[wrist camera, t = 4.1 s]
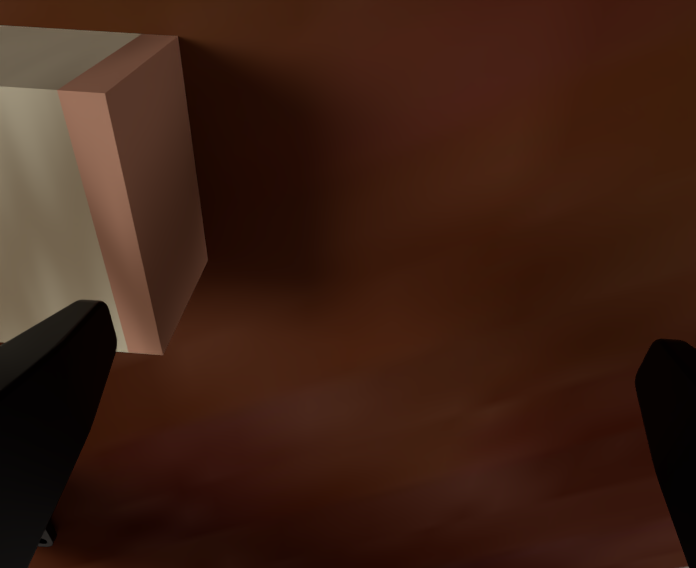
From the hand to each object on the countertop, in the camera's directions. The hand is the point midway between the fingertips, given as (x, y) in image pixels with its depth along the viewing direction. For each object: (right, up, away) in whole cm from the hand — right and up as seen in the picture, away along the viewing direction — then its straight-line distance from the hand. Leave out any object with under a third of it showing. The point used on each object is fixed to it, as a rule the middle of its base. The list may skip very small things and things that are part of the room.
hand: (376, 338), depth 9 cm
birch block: (-5, +3, +3) cm, 6 cm away
